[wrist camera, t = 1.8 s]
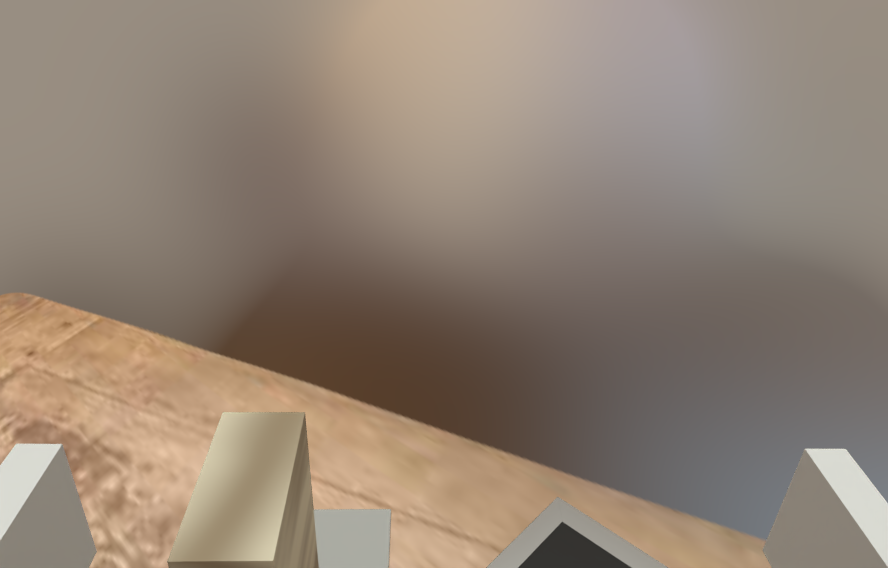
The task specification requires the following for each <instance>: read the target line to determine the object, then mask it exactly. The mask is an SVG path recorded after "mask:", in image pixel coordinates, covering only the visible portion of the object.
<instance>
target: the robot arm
mask: <svg viewBox="0 0 888 568" xmlns="http://www.w3.org/2000/svg"><path fill="white" fill-rule="evenodd" d="M96 552H97V551H96V548H95V545H94V541H93V538H92V535H91V532H90V529H89V526H88V523H87V520H86V517H85V513H84V510H83V507H82V504H81V501H80V498H79V495H78V492H77V489H76V485H75V482H74V479H73V476H72V473H71V470H70V467H69V464H68V461H67V457H66V454H65V451H64V448H63V445H62V444H16V445H15V446H14V447H13V449H12V450H11V452H10V453H9V454H8V456H7V457H6V458H5V460H4V461H3V463H2V464H1V465H0V568H89V566H90V564H91V562H92V560H93V558H94V556H95V554H96ZM763 552H764V554H765V556H766V558H767V559H768V561H769V563H770V565H771V567H772V568H888V503H887V502H886V501H885V499H884V498H883V497H882V496H881V494H880V493H879V492H878V490H877V489H876V488H875V486H874V485H873V484H872V483H871V481H870V480H869V479H868V477H867V476H866V475H865V473H864V472H863V471H862V470H861V468H860V467H859V466H858V464H857V463H856V462H855V461H854V459H853V458H852V457H851V455H850V454H849V453H848V451H847V450H846V449H805V450H804V452H803V454H802V457H801V459H800V462H799V464H798V466H797V469H796V471H795V474H794V476H793V478H792V481H791V483H790V486H789V488H788V490H787V493H786V495H785V498H784V500H783V502H782V505H781V507H780V510H779V512H778V514H777V517H776V519H775V522H774V524H773V526H772V529H771V531H770V534H769V536H768V538H767V541H766V543H765V546H764V548H763Z"/></svg>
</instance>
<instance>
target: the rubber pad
mask: <svg viewBox="0 0 888 568" xmlns="http://www.w3.org/2000/svg"><path fill="white" fill-rule="evenodd" d="M314 520H315V531H316V542H317V553H318V564H319V568H389V546H390V522H391V509H345V510H314Z"/></svg>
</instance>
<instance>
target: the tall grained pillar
mask: <svg viewBox="0 0 888 568" xmlns="http://www.w3.org/2000/svg"><path fill="white" fill-rule="evenodd" d="M167 562H168V566H169V568H319V564H318V553H317V542H316V531H315V520H314V508H313V497H312V486H311V475H310V464H309V453H308V441H307V430H306V419H305V412H223V413H222V416H221V419H220V421H219V424H218V427H217V430H216V432H215V435H214V438H213V440H212V443H211V446H210V448H209V451H208V454H207V456H206V459H205V462H204V464H203V467H202V470H201V473H200V475H199V478H198V481H197V483H196V486H195V489H194V491H193V494H192V497H191V499H190V502H189V505H188V507H187V510H186V513H185V516H184V518H183V521H182V524H181V526H180V529H179V532H178V534H177V537H176V540H175V542H174V545H173V548H172V550H171V553H170V556H169V559H168V561H167Z"/></svg>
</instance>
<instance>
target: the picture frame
mask: <svg viewBox="0 0 888 568" xmlns="http://www.w3.org/2000/svg"><path fill="white" fill-rule="evenodd" d="M486 568H668V567H666V566H665V565H663V564H662V563H660V562H659V561H657V560H655V559H654V558H652V557H651V556H649V555H648V554H646V553H645V552H643V551H641V550H640V549H638V548H637V547H635V546H634V545H632V544H631V543H629V542H627V541H626V540H624V539H623V538H621V537H620V536H618V535H617V534H615V533H613V532H612V531H610V530H609V529H607V528H606V527H604V526H602V525H601V524H599V523H598V522H596V521H595V520H593V519H592V518H590V517H588V516H587V515H585V514H584V513H582V512H581V511H579V510H578V509H576V508H574V507H573V506H571V505H570V504H568V503H567V502H565V501H564V500H562V499H560V498H559V497H557V498H556V499H555V500H554V501H553V502H552V503H551V504H550V505H549V506H548V507H547V508H546V509H545V510H544V511H543V512H542V513H541V514H540V515H539V516H538V517H537V518H536V519H535V520H534V521H533V522H532V523H531V524H530V525H529V526H528V527H527V528H526V529H525V530H524V531H523V532H522V533H521V534H520V535H519V536H518V537H517V538H516V539H515V540H514V541H513V542H512V543H511V544H510V545H509V546H507V547H506V548H505V549H504V550H503V551H502V552H501V553H500V554H499V555H498V556H497V557H496V558H495V559H494V560H493V561H492V562H491V563H490V564H489V565H488V566H487V567H486Z"/></svg>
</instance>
